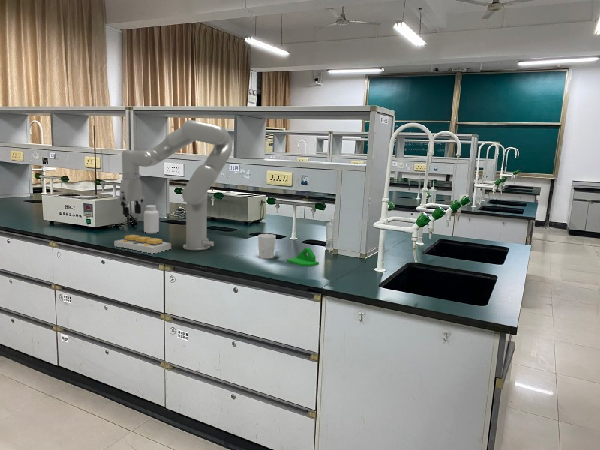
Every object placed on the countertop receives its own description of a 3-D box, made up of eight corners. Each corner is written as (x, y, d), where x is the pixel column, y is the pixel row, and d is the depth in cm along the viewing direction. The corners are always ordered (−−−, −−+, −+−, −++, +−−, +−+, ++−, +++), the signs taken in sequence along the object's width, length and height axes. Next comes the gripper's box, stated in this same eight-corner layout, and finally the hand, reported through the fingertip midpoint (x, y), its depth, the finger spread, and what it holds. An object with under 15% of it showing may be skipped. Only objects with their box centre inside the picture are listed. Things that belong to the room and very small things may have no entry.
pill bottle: (147, 234, 245) (146, 207, 243) (141, 231, 251) (141, 205, 249) (161, 232, 250) (160, 206, 248) (155, 230, 256) (155, 204, 254)
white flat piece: (170, 249, 213) (170, 241, 212) (152, 254, 202) (152, 246, 202) (134, 242, 223) (133, 235, 223) (114, 247, 213) (114, 239, 212)
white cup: (255, 255, 208) (256, 234, 206) (272, 254, 211) (272, 233, 209) (260, 259, 201) (260, 237, 199) (277, 258, 203) (277, 237, 202)
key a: (162, 245, 211) (162, 239, 210) (154, 247, 206) (154, 241, 206) (154, 243, 213) (154, 238, 212) (146, 245, 209) (146, 239, 208)
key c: (140, 241, 217) (140, 235, 216) (132, 243, 212) (132, 237, 212) (132, 240, 219) (132, 234, 219) (124, 241, 215) (124, 236, 214)
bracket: (286, 262, 198) (287, 247, 197) (299, 259, 204) (299, 245, 203) (306, 268, 190) (307, 252, 189) (318, 265, 196) (319, 250, 194)
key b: (151, 243, 214) (151, 237, 213) (143, 245, 209) (143, 239, 209) (143, 242, 216) (143, 236, 216) (135, 243, 212) (135, 238, 211)
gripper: (139, 175, 220) (140, 211, 223) (110, 176, 204) (111, 215, 207) (150, 176, 216) (151, 213, 220) (121, 178, 201) (123, 217, 204)
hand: (131, 214), depth 213 cm, fingers open, 6 cm apart
